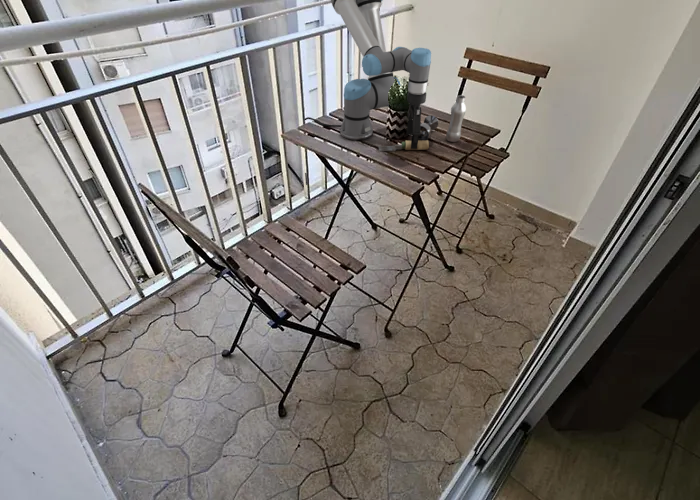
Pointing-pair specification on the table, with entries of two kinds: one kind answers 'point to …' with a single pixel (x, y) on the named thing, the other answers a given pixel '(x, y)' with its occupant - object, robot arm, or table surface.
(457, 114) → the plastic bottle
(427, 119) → the wine glass
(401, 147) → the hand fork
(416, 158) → the table surface
